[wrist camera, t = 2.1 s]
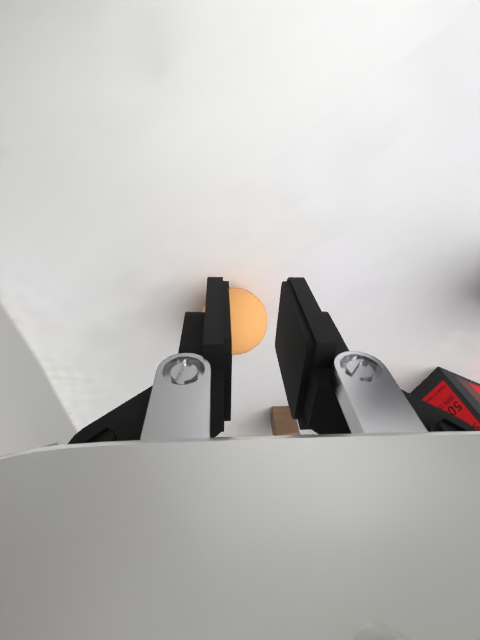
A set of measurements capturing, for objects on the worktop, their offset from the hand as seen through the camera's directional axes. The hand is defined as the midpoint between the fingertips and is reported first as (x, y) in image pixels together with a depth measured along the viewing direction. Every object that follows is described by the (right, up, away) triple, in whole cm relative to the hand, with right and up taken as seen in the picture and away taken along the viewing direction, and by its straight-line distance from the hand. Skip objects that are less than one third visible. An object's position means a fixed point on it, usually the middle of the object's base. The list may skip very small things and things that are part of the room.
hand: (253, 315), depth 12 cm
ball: (-1, 0, +17) cm, 17 cm away
